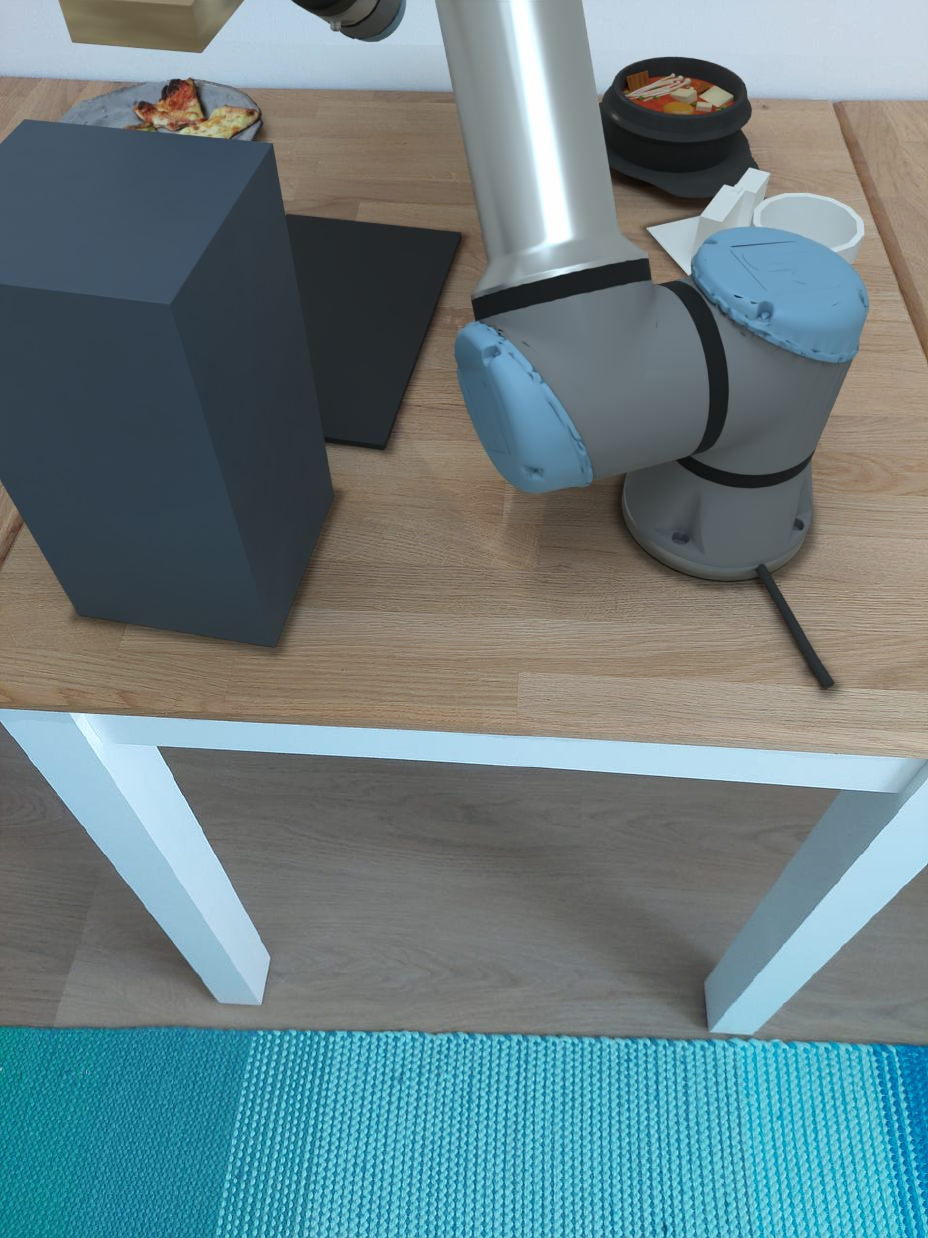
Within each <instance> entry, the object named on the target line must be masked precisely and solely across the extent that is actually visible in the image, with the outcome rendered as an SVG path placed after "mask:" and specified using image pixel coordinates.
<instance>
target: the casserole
mask: <svg viewBox="0 0 928 1238" xmlns="http://www.w3.org/2000/svg"><path fill="white" fill-rule="evenodd" d="M748 98H749V97H748V89H747V85H746V83H745V82H744V80H743V79H742V78H741V77H740V76H739V75H738V74H737V73H736V72H734V71H732V70H731V69H728V67H725V66H723V65H721V64H718V63H716V62H712V61H708V60H705V59H699V58H695V57H687V56H658V57H657V56H656V57H650V58H645V59H642V60H638V61H635V62H632V63H630V64H628V65H626V66H624V67H623V68H622V69H620V70H619V71H618V72H617V73H616V75H615V76H614V78H613V80H612V82H611V85H609V87H608V88H607V89H606V90H605V92H604V93H603V95H602V99H601V101H600V102H599V108H600V114H601V121H602V127H603V133H604V139H605V145H606V151H607V158H608V164H609V168H611V169H613V170H615V171H617V172H619V173H621V174H623V175H626V176H629V177H631V178H634V179H635V180H639V181H642V182H645V183H648V184H651V185H653V186H654V187H656V188H658V189H660V190H662V191H664V192H665V193H668V194H671V195H672V196H675V197H679V198H683V199H706V198H714V197H715V196H716V195H717V193H718V192H719V191H720V189H721V188H722V187H723V185H728V186H731V187H734V186H735V185H736V184H737V183H738V182H739V181H740V179H741V178H742V177H743V175H744V174H745V173H746V171H747V170H748V169H749V168H753V169H757V170H761V169H760V167H759V165H758V163H757V162H756V160H755V159H754V156H752V151H751V147H750V143H749V140H748V137H747V136H746V135H745V133H744V131H743V130H742V128H743V127H745V126H746V124H748V122H749V121H750V119H751V118H752V114H753V113H752V112H753V107H752V103H751V101H750V100H749V99H748Z"/></svg>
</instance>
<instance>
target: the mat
mask: <svg viewBox="0 0 928 1238" xmlns="http://www.w3.org/2000/svg"><path fill="white" fill-rule="evenodd" d="M285 216H286V222H287V227H288V233H289V239H290V245H291V250H292V256H293V262H294V268H295V273H296V279H297V285H298V291H299V296H300V302H301V308H302V314H303V319H304V325H305V331H306V337H307V342H308V348H309V354H310V360H311V365H312V371H313V377H314V383H315V388H316V394H317V400H318V406H319V411H320V417H321V423H322V429H323V435H324V440H325V443H333V444H338V445H339V444H340V445H345V446H346V445H347V446H353V447H360V448H361V447H362V448H369V449H376V450H383V451H384V450H385V451H386V449H387V448H386V447H387V445H388V442H389V439H390V436H391V434H392V430H393V429H394V426H395V423H396V420H397V418H398V414H399V412H400V409H401V406H402V404H403V400H404V398H405V395H406V393H407V390H408V388H409V385H410V384H409V383H410V381H411V379H412V375H413V373H414V370H415V367H416V365H417V362H418V359H419V357H420V354H421V351H422V348H423V346H424V342H425V339H426V336H427V334H428V331H429V328H430V325H431V322H432V320H433V317H434V314H435V311H436V310H437V306H438V304H439V300H440V298H441V295H442V292H443V289H444V287H445V285H446V282H447V279H448V275H449V272H450V270H451V267H452V265H453V262H454V259H455V256H456V254H457V250H458V248H459V245H460V243H461V239H462V231H454V230H453V231H452V230H444V229H434V228H425V227H417V226H416V227H415V226H407V225H406V226H405V225H397V224H388V223H387V224H386V223H379V222H370V221H369V222H368V221H360V220H351V219H350V220H349V219H342V218H341V219H340V218H330V217H324V216H323V217H322V216H321V217H320V216H312V215H302V214H294V213H293V214H292V213H285Z"/></svg>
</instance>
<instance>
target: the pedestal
mask: <svg viewBox="0 0 928 1238" xmlns="http://www.w3.org/2000/svg"><path fill="white" fill-rule="evenodd" d="M274 147H275V146H274V143H273V142H268V141H267V142H266V141H265V142H264V141H255V140H254V141H246V140H236V139H226V138H215V137H205V136H195V135H184V134H174V133H164V132H153V131H143V130H132V129H122V128H112V127H101V126H91V125H81V124H70V123H60V122H59V121H48V120H37V119H29V118H25V119H24V118H23V120H22V121H20V123H19V124H18V125H17V126H16V127H15V128H14V129H13V130H12V131H11V132H10V133H9V134H8V135H7V136H6V137H5V138H4V139H3V140H2V141H1V142H0V483H1V485H2V486H3V487H4V490H5V491H6V493H7V494H8V496H9V498H10V500H11V501H12V503H13V505H14V507H15V508H16V510H17V512H18V514H19V515H20V517H21V519H22V521H23V522H24V524H25V525H26V527H27V529H28V531H29V532H30V534H31V536H32V537H33V540H34V541H35V543H36V545H37V546H38V548H39V550H40V552H41V553H42V555H43V557H44V558H45V560H46V562H47V564H48V565H49V567H50V569H51V571H52V572H53V574H54V576H55V578H56V579H57V581H58V583H59V585H60V586H61V588H62V589H63V591H64V593H65V594H66V597H67V598H68V600H69V602H70V603H71V605H72V607H73V608H74V610H75V612H76V614H77V615H78V616H82V617H90V618H96V619H101V620H108V621H113V622H119V623H125V624H130V625H138V626H143V627H149V628H155V629H161V630H167V631H174V632H179V633H186V634H190V635H191V634H192V635H197V636H204V637H208V638H215V639H221V640H226V641H234V642H239V643H245V644H250V645H256V646H257V645H258V646H263V647H269V648H276V646H277V644H278V641H279V638H280V637H281V633H282V630H283V628H284V626H285V624H286V621H287V619H288V616H289V613H290V610H291V607H292V605H293V603H294V600H295V597H296V595H297V593H298V590H299V588H300V585H301V583H302V579H303V577H304V574H305V572H306V569H307V566H308V564H309V562H310V560H311V557H312V553H313V551H314V549H315V546H316V543H317V541H318V540H319V539H318V538H319V535H320V534H321V530H322V528H323V525H324V523H325V520H326V518H327V515H328V513H329V510H330V507H331V505H332V502H333V500H334V499H335V491H334V486H333V482H332V476H331V475H332V474H331V470H330V469H331V468H330V464H329V457H328V453H327V447H326V442H325V440H324V435H323V429H322V423H321V417H320V411H319V406H318V400H317V394H316V388H315V383H314V377H313V371H312V365H311V360H310V354H309V348H308V342H307V337H306V331H305V325H304V319H303V314H302V308H301V302H300V296H299V291H298V285H297V279H296V273H295V268H294V262H293V256H292V250H291V245H290V239H289V233H288V227H287V222H286V210H285V204H284V200H283V199H284V198H283V194H282V188H281V187H282V186H281V182H280V176H279V171H278V165H277V160H276V159H277V158H276V154H275V148H274Z"/></svg>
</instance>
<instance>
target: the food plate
mask: <svg viewBox="0 0 928 1238" xmlns="http://www.w3.org/2000/svg"><path fill="white" fill-rule="evenodd" d="M60 117H61V118H60V120H59V121H58V122H60V123H70V124H81V125H91V126H101V127H112V128H122V129H132V130H143V131H153V132H164V133H174V134H184V135H195V136H205V137H215V138H226V139H236V140H246V141H255V139H256V138H257V136H258V134H259V133H260V131H261V129H262V127H263V125H264V121H263V118H262V117H263V114H262V110H261V107H259V106H258V104H257V102H256V101H254V100H253V99H252V97H250V95H249V94H248V93H245V92H244V91H242V90H240V89H238V88H236V87H234V86H231V85H227V84H222V83H218V82H213V81H209V80H205V79H197V78H193V77H188V78H187V79H181V78H171V79H167V80H163V81H145V82H144V81H143V82H141V83H140V82H139V83H137V84H136V85H135V84H132V85H129V86H126V87H122V88H120V89H115V90H114V89H113V90H112V91H109V92H106V93H103V94H99V95H97V96H94V97H92V98H88V99H85V100H81V102H79V103H78V104H76V105H74V106H72V107H70V108H69V109H68V110H67V111H66V112H65V113H64V114H62V116H60Z"/></svg>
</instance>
